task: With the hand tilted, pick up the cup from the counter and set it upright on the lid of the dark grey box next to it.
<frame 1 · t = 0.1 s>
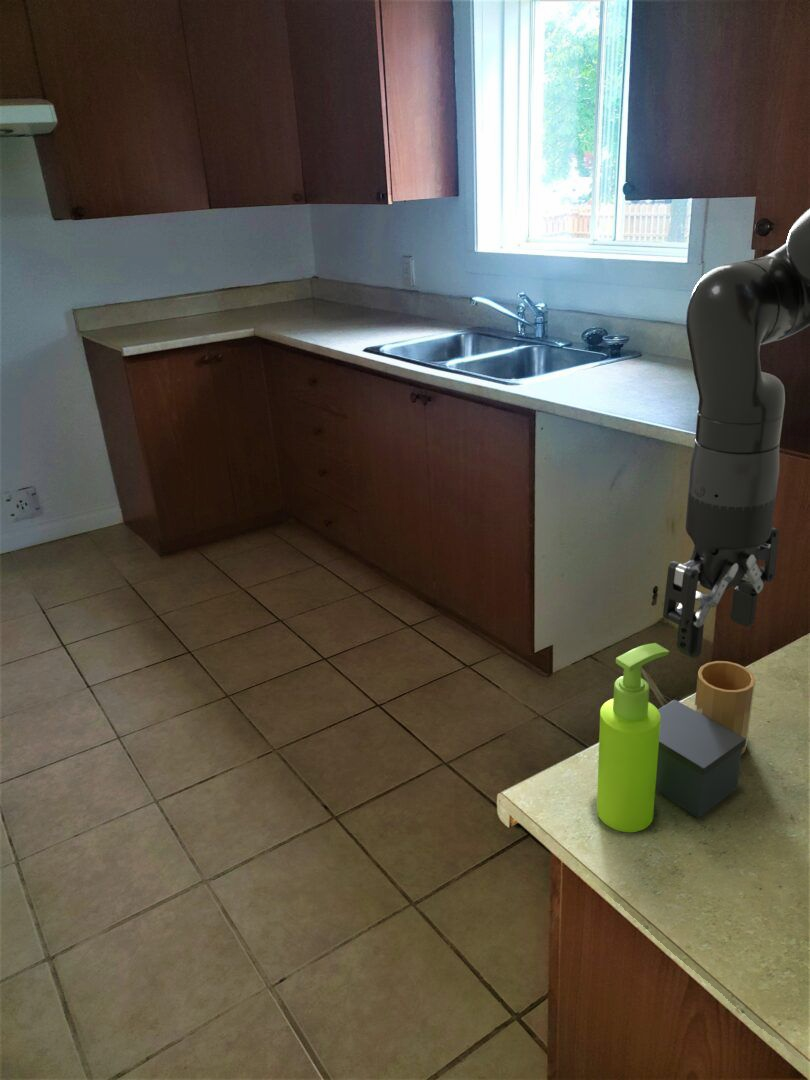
hand: (716, 637, 82), 20 cm above the countertop, tool pointing down, fingers open, 8 cm apart
cup: (718, 742, 96), on the countertop
soap dispenser: (628, 811, 88), on the countertop
dark grey box: (683, 781, 91), on the countertop
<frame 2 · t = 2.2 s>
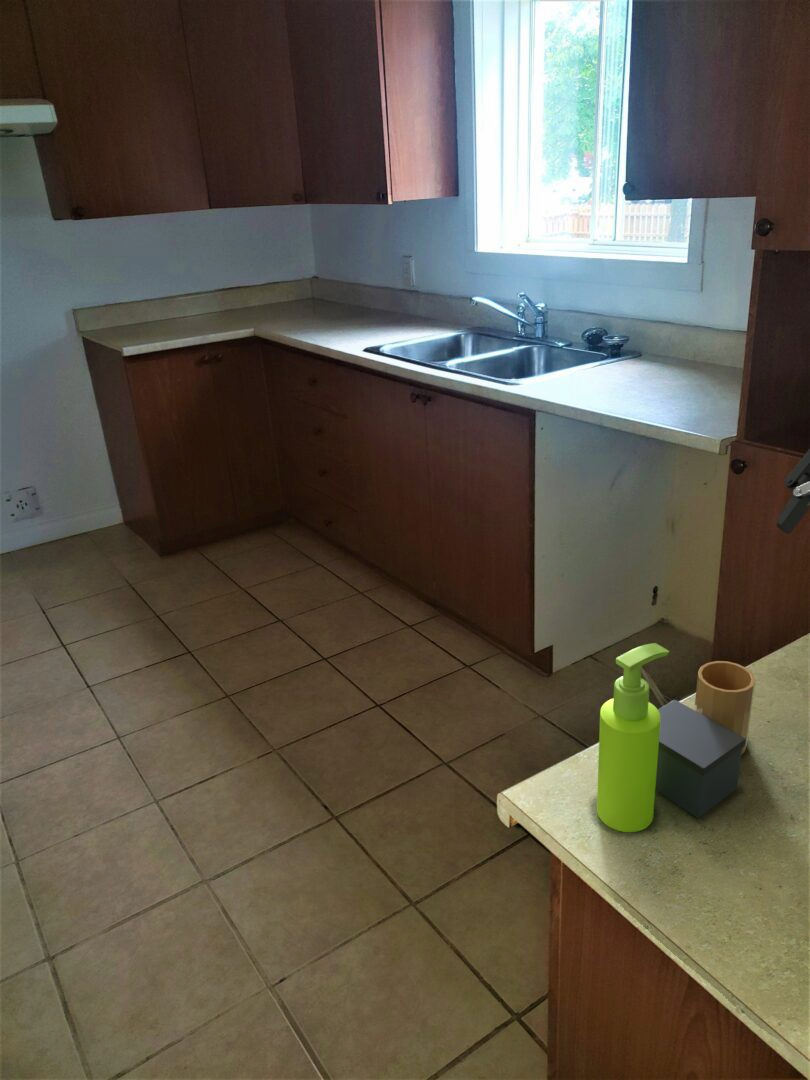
nothing on the countertop moved.
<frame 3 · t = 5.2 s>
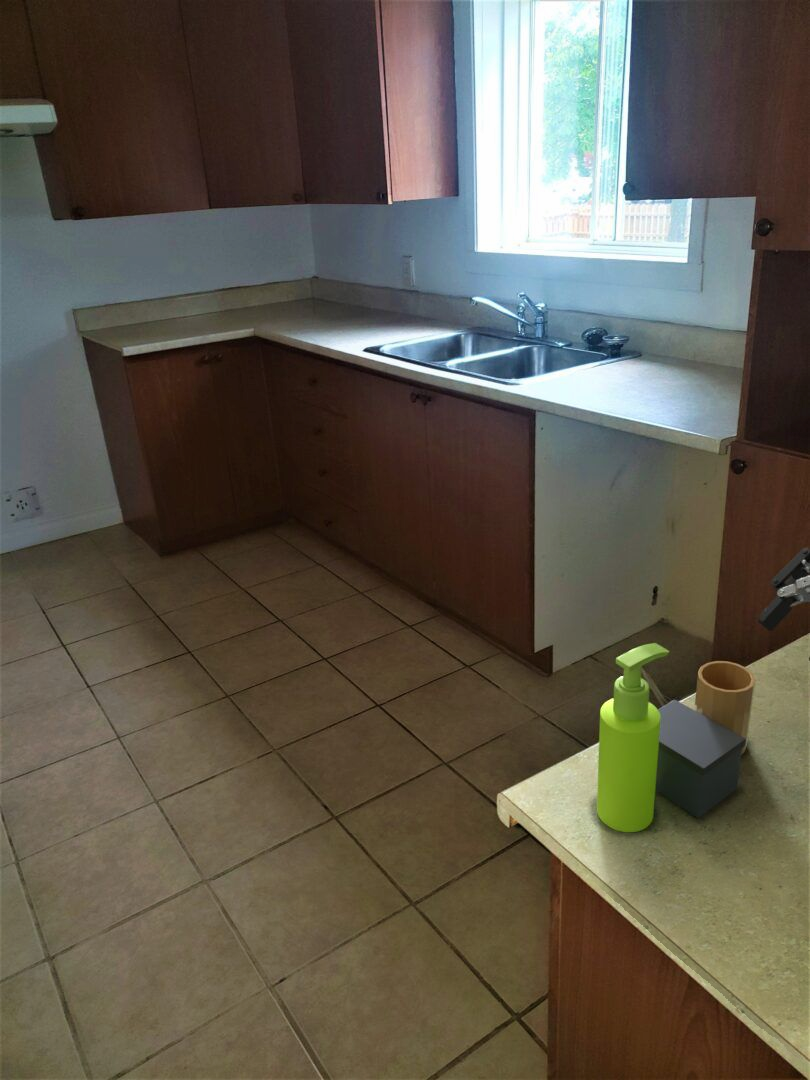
hand: (788, 645, 93), 12 cm above the countertop, tool tilted 45°, fingers open, 8 cm apart
nothing on the countertop moved.
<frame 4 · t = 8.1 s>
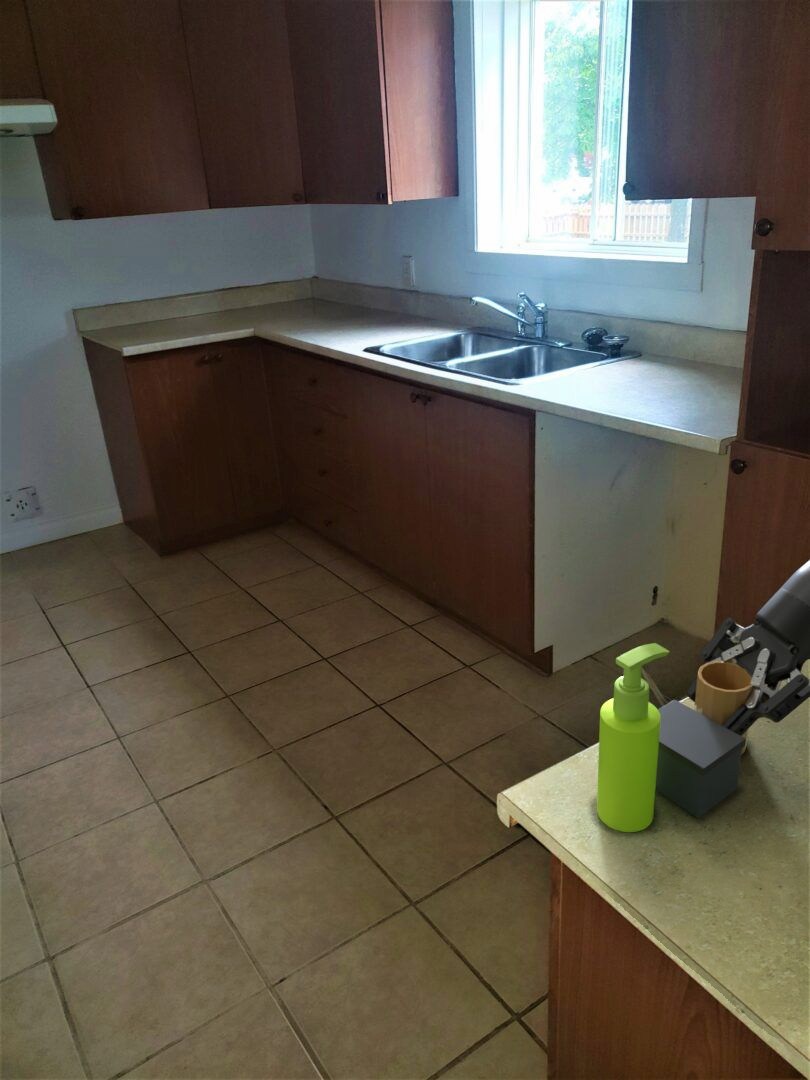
hand: (709, 716, 94), 4 cm above the countertop, tool tilted 45°, fingers closed on cup, 6 cm apart
cup: (718, 742, 96), on the countertop, touching gripper
everything else where it was.
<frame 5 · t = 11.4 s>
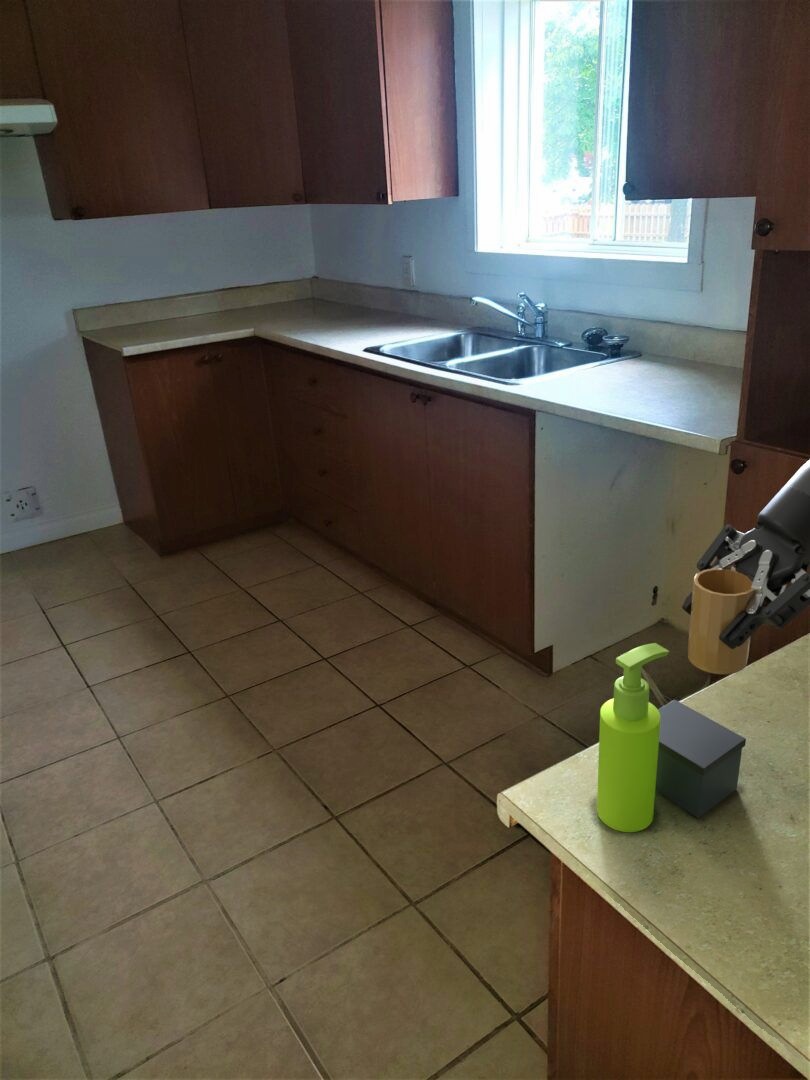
hand: (706, 627, 86), 18 cm above the countertop, tool tilted 45°, fingers closed on cup, 6 cm apart
cup: (717, 658, 88), point 14 cm above the countertop, touching gripper
everything else where it was.
when the fingers open (11 cm above the countertop, at t = 14.7 s): cup stays where it is, resting on dark grey box.
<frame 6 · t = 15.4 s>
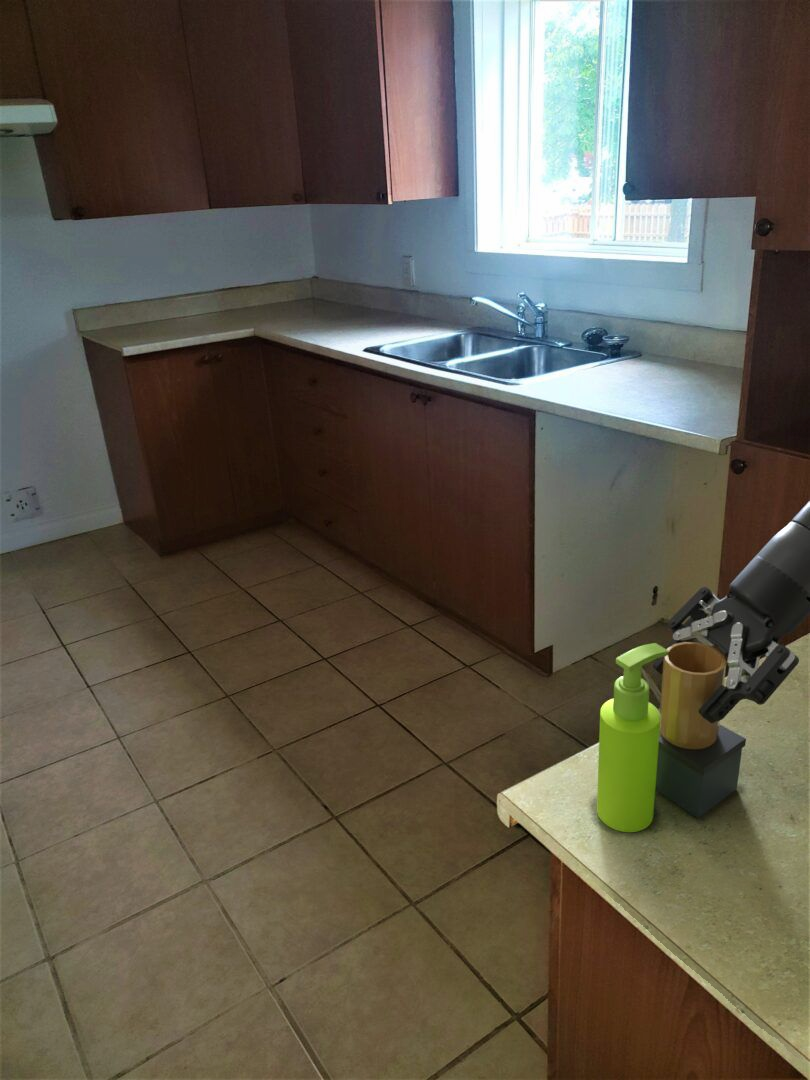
hand: (681, 694, 85), 12 cm above the countertop, tool tilted 45°, fingers open, 8 cm apart
cup: (688, 731, 88), point 7 cm above the countertop, touching dark grey box
everything else where it was.
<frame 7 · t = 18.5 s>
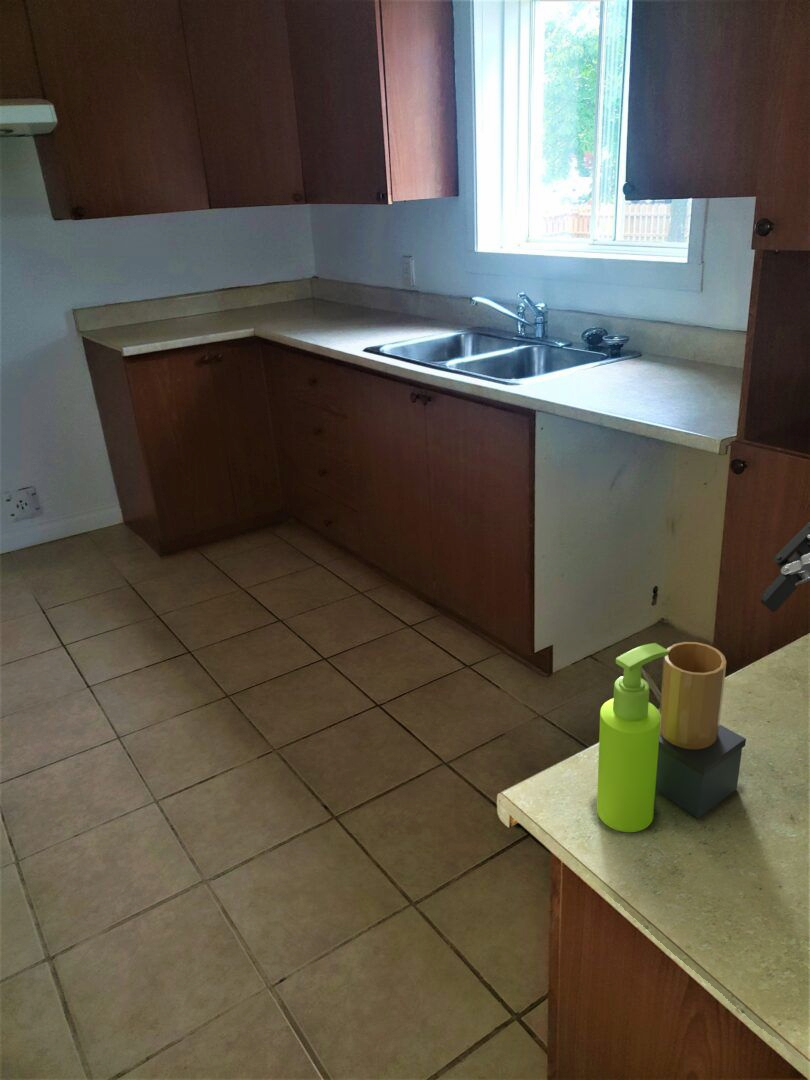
hand: (793, 625, 86), 18 cm above the countertop, tool tilted 45°, fingers open, 8 cm apart
nothing on the countertop moved.
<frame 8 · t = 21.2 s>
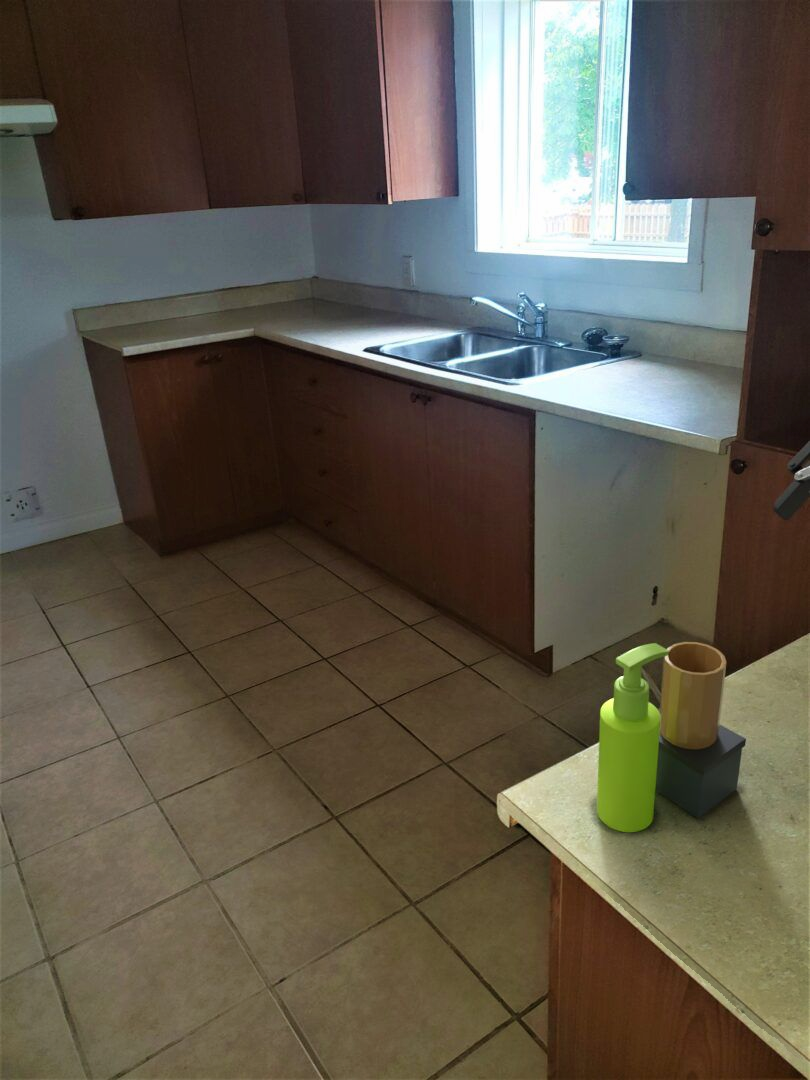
hand: (807, 531, 81), 29 cm above the countertop, tool tilted 45°, fingers open, 8 cm apart
nothing on the countertop moved.
at the end: cup 0.1 cm off-centre on the dark grey box, point 7.0 cm above the dark grey box's base; cup tilted 0°; the gripper is holding nothing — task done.
